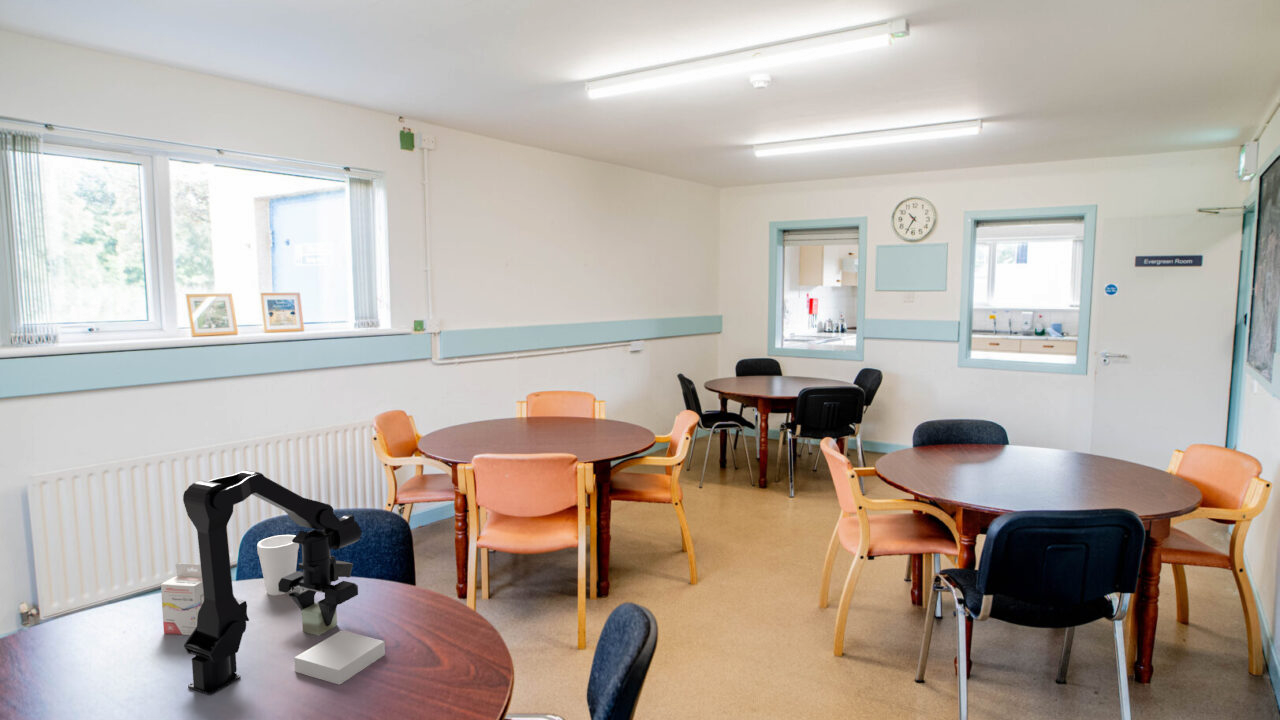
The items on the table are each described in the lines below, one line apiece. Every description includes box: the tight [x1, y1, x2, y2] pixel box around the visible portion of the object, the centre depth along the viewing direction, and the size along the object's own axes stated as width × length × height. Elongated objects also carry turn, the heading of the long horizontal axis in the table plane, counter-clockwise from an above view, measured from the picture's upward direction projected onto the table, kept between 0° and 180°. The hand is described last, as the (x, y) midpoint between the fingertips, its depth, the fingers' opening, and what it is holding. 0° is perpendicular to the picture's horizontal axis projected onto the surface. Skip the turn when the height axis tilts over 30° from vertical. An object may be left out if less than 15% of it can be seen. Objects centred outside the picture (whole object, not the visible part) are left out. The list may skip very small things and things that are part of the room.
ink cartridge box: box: [160, 562, 204, 636], centre depth 151 cm, size 9×5×15 cm, turn 84°
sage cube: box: [301, 601, 338, 637], centre depth 153 cm, size 5×5×5 cm
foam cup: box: [256, 534, 300, 596], centre depth 172 cm, size 10×9×13 cm
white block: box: [293, 629, 386, 685], centre depth 138 cm, size 12×12×3 cm
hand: (319, 623), depth 153 cm, fingers closed on sage cube, 5 cm apart
